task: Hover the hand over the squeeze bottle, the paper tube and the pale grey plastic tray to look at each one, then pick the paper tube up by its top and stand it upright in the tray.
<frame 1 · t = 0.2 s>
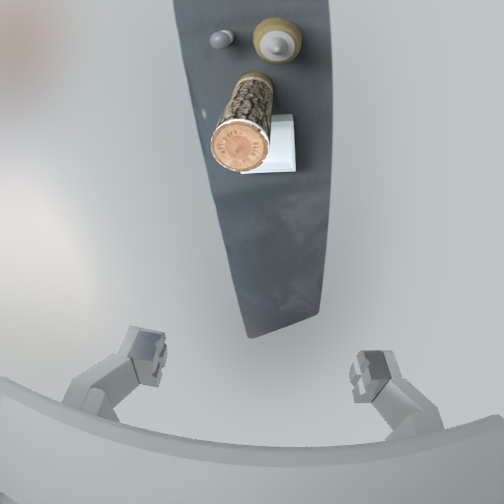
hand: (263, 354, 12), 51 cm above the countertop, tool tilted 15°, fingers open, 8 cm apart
squeeze bottle: (277, 36, 41), on the countertop
sample vial: (225, 36, 41), on the countertop
tray: (266, 140, 57), on the countertop
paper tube: (254, 87, 49), on the countertop
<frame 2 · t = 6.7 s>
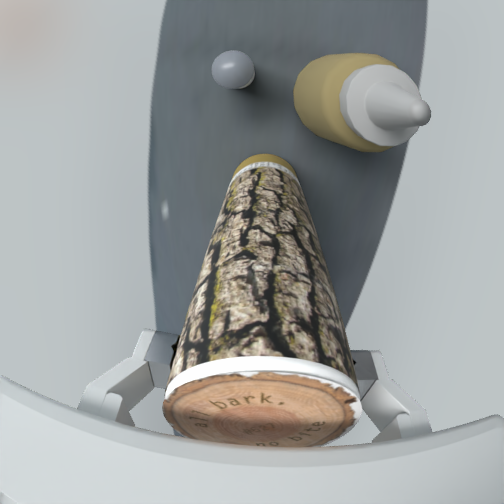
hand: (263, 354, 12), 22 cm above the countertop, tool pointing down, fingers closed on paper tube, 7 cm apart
squeeze bottle: (330, 97, 25), on the countertop
sample vial: (239, 74, 24), on the countertop
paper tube: (264, 183, 30), on the countertop, touching gripper
when the fingers open (24 cm above the countertop, at t = 13.3 s): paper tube stays where it is, resting on tray.
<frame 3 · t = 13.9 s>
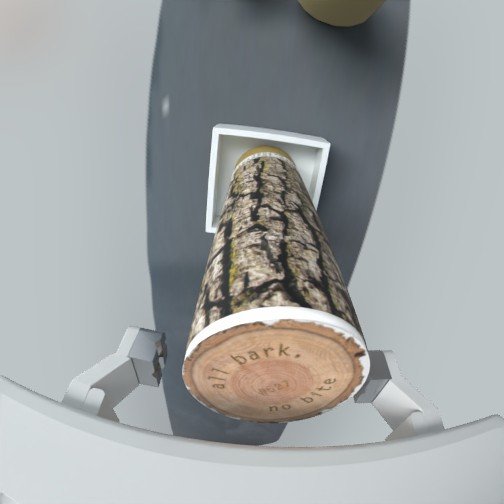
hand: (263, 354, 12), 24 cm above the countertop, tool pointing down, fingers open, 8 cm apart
squeeze bottle: (328, 2, 21), on the countertop
tray: (264, 178, 32), on the countertop
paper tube: (265, 174, 31), point 1 cm above the countertop, touching tray
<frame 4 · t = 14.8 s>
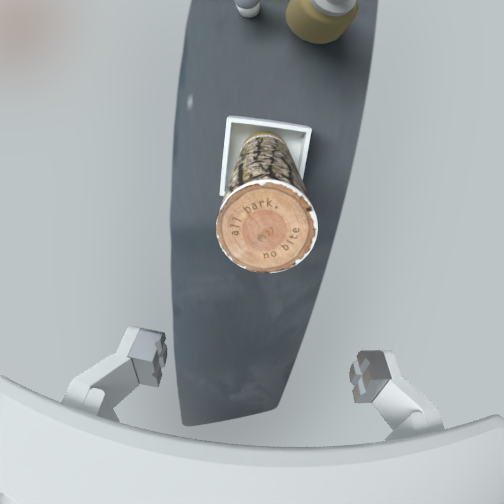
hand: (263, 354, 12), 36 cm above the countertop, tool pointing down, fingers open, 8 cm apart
squeeze bottle: (311, 23, 31), on the countertop
sample vial: (248, 9, 30), on the countertop
tray: (264, 156, 42), on the countertop
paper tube: (264, 152, 41), point 1 cm above the countertop, touching tray
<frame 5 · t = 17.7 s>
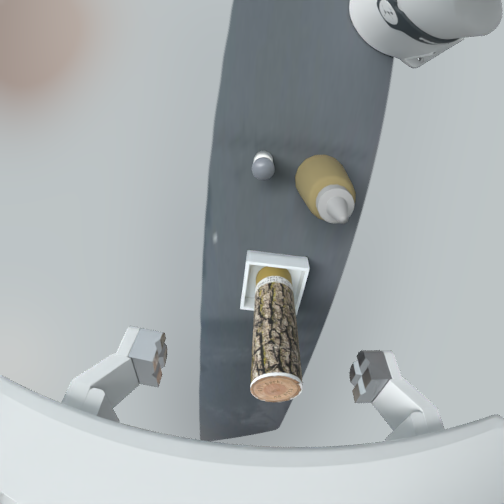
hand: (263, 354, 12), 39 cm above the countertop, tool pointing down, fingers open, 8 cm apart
squeeze bottle: (316, 173, 47), on the countertop
sample vial: (263, 159, 46), on the countertop
tray: (272, 277, 58), on the countertop
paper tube: (273, 277, 57), point 1 cm above the countertop, touching tray
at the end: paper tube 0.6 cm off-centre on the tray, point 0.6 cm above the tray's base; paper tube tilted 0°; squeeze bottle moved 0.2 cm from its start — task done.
